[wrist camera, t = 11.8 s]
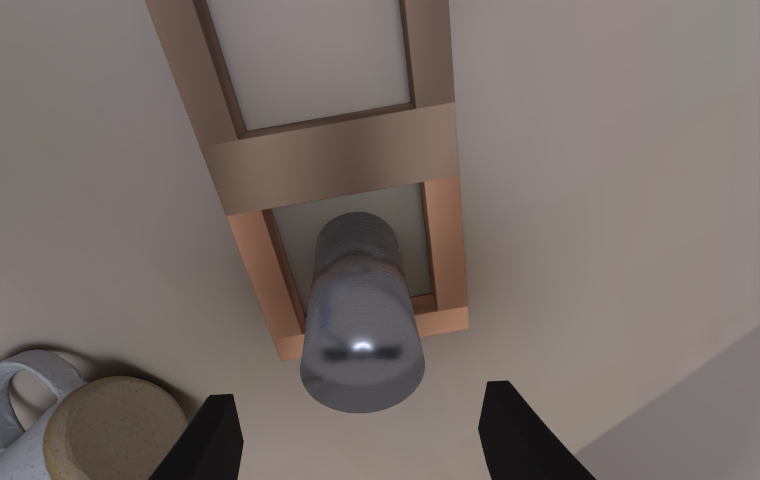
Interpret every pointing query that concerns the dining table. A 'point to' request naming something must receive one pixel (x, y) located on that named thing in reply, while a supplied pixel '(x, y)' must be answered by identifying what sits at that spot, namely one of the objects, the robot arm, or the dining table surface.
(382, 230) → the metal peg
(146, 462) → the ceramic mug
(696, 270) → the dining table surface
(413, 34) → the rail
